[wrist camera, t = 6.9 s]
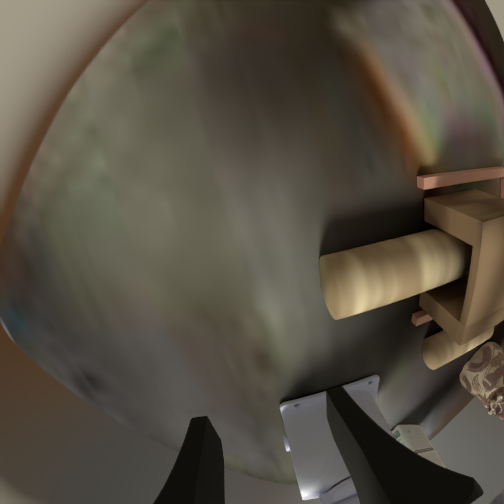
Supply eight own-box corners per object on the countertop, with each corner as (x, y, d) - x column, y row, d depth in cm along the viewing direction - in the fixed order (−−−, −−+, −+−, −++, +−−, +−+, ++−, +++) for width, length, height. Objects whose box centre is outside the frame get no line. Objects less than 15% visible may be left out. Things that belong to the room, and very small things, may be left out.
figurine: (471, 349, 25) (527, 412, 14) (502, 334, 26) (553, 385, 15) (452, 389, 28) (495, 450, 17) (483, 373, 28) (525, 424, 17)
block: (418, 305, 21) (459, 346, 15) (424, 198, 17) (483, 222, 12) (466, 285, 21) (507, 317, 15) (474, 188, 18) (528, 207, 12)
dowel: (325, 312, 19) (345, 326, 15) (314, 255, 19) (333, 256, 15) (451, 272, 19) (483, 275, 15) (443, 224, 19) (475, 220, 15)
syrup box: (397, 423, 28) (442, 508, 15) (420, 423, 30) (462, 497, 16) (369, 448, 30) (404, 530, 16) (394, 447, 31) (428, 519, 18)
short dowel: (418, 338, 24) (424, 368, 23) (436, 338, 21) (441, 371, 20) (472, 312, 24) (477, 339, 23) (490, 309, 21) (495, 338, 20)
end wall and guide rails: (411, 321, 22) (449, 364, 16) (416, 176, 17) (478, 194, 11) (494, 283, 22) (531, 310, 16) (505, 165, 17) (554, 179, 12)
